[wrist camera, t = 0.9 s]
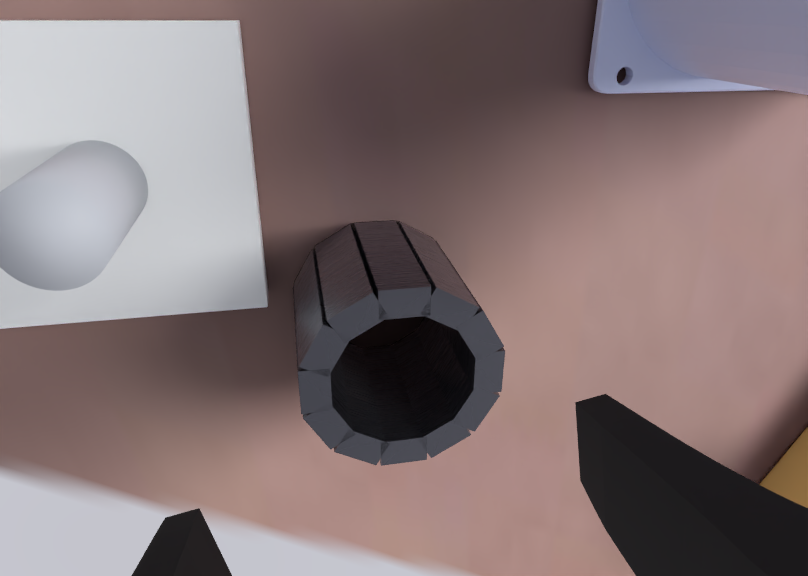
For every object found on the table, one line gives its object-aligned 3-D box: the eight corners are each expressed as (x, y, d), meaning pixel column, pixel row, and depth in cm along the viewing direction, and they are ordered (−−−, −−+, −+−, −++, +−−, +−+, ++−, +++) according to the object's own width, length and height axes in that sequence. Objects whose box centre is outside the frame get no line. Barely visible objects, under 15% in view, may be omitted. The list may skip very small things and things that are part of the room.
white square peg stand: (239, 20, 16) (224, 25, 11) (268, 292, 19) (265, 379, 15) (-104, 19, 14) (-276, 26, 10) (-6, 314, 18) (-101, 417, 13)
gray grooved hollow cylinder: (457, 216, 19) (511, 279, 15) (450, 358, 22) (495, 450, 17) (287, 226, 18) (291, 297, 14) (300, 374, 21) (306, 475, 16)
